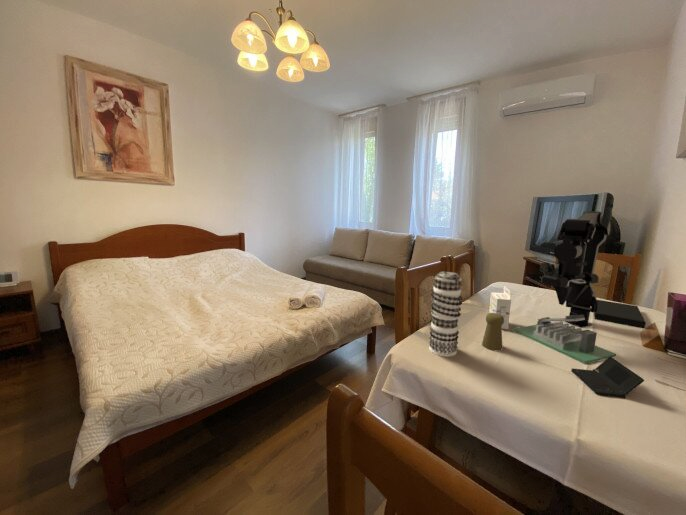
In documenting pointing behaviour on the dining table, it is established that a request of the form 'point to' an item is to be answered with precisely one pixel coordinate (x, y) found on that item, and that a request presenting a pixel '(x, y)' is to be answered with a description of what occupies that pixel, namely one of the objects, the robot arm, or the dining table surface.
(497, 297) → the ink cartridge box
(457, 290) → the decorative candle
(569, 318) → the retention strap
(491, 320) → the cork
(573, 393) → the dining table surface
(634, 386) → the handheld gaming console
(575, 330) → the heat sink
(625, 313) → the external hard drive
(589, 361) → the circuit board
